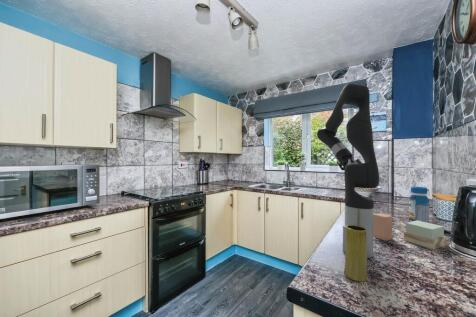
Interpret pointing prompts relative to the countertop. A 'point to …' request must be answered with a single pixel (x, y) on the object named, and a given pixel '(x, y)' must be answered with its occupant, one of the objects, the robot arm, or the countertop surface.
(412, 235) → the tower base
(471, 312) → the countertop surface
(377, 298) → the countertop surface
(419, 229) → the tower top
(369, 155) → the robot arm
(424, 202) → the beverage bottle
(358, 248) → the vase
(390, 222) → the square block
